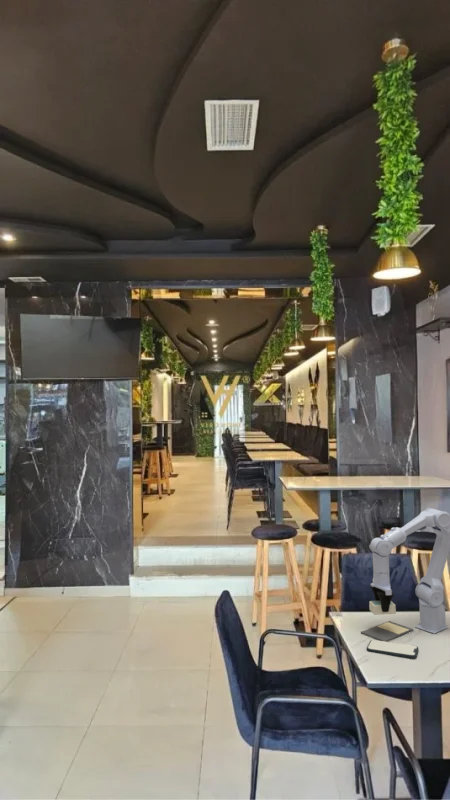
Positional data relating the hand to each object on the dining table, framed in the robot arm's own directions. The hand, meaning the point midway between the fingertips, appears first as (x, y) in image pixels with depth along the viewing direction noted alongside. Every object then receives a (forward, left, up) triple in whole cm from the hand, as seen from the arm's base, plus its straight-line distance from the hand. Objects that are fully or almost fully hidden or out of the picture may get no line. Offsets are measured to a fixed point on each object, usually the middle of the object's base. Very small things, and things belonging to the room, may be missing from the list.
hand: (382, 608), depth 191 cm
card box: (0, 0, -1) cm, 1 cm away
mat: (-1, +1, -9) cm, 9 cm away
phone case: (+10, +11, -9) cm, 18 cm away
